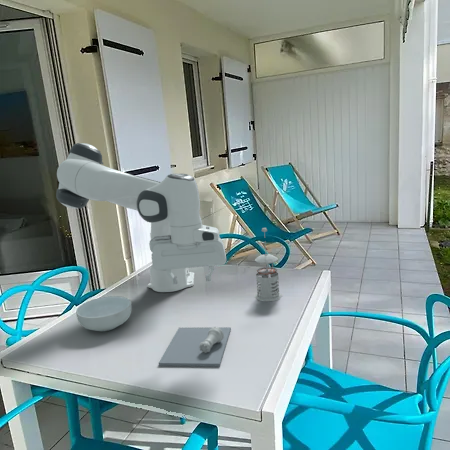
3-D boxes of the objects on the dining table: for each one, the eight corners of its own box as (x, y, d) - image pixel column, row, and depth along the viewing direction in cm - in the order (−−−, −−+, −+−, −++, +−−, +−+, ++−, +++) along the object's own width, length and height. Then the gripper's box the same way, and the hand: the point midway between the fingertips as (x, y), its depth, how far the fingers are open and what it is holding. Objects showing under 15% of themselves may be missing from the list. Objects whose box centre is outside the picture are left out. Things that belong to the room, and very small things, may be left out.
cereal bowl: (82, 343, 120) (78, 321, 119) (76, 323, 135) (73, 303, 134) (138, 329, 127) (136, 308, 126) (127, 310, 142) (125, 291, 141)
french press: (252, 300, 142) (247, 231, 137) (258, 288, 153) (254, 223, 148) (280, 302, 139) (276, 230, 134) (285, 289, 150) (281, 223, 145)
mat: (179, 329, 124) (179, 327, 124) (230, 329, 121) (230, 327, 121) (158, 365, 105) (158, 362, 105) (219, 366, 102) (219, 363, 102)
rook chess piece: (220, 343, 114) (206, 359, 107) (208, 333, 115) (193, 349, 108) (227, 333, 112) (213, 349, 105) (214, 323, 113) (199, 338, 106)
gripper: (146, 239, 107) (152, 289, 110) (223, 233, 107) (228, 283, 109) (150, 234, 113) (156, 281, 116) (223, 228, 113) (227, 275, 116)
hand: (191, 282), depth 113 cm, fingers open, 8 cm apart
